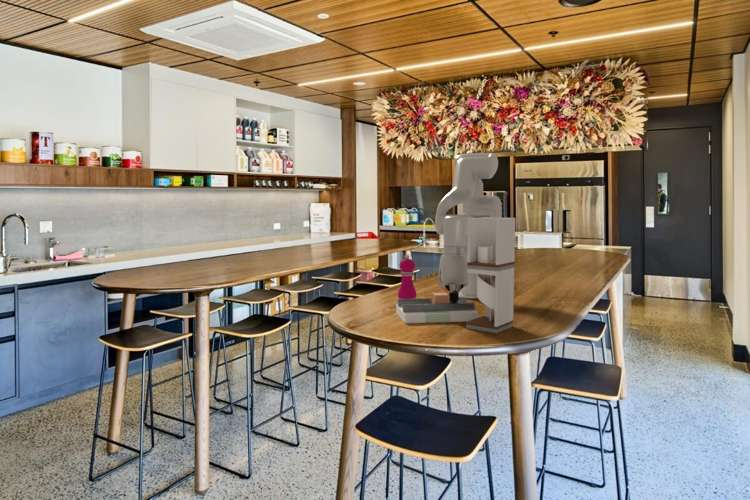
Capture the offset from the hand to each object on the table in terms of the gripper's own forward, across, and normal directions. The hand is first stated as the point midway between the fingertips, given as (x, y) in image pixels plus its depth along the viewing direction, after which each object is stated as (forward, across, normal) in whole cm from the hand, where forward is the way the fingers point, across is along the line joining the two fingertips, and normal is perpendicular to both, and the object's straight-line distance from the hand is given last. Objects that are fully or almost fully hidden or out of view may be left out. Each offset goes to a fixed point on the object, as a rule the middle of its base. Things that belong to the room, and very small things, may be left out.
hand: (453, 303), depth 187 cm
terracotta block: (+2, +5, 0) cm, 5 cm away
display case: (+5, -7, +18) cm, 20 cm away
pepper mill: (+5, +13, -20) cm, 24 cm away
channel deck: (+5, +6, 0) cm, 8 cm away
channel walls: (+2, +7, 0) cm, 7 cm away
